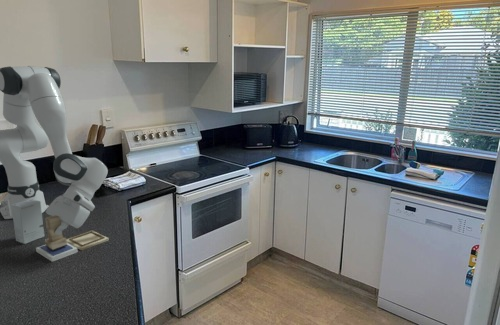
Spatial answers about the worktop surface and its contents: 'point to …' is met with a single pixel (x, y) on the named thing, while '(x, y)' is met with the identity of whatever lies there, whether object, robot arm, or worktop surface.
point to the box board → (87, 240)
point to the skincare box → (27, 221)
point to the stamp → (54, 234)
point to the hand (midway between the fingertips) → (52, 231)
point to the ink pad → (56, 252)
